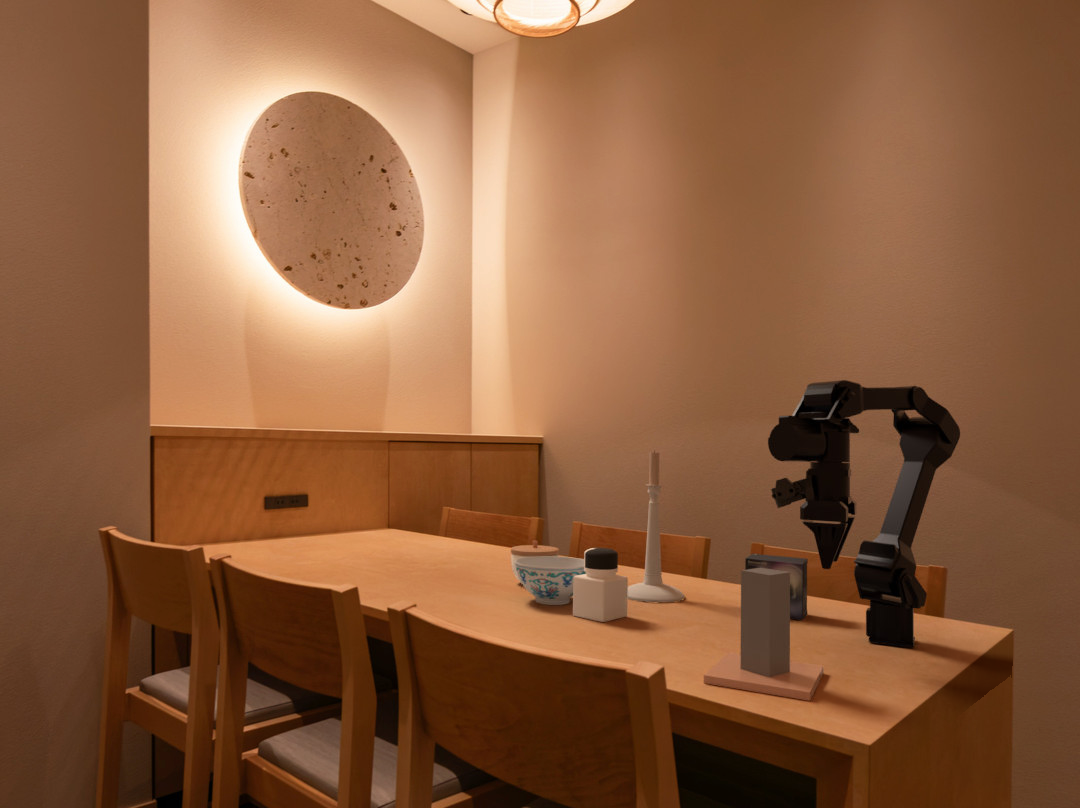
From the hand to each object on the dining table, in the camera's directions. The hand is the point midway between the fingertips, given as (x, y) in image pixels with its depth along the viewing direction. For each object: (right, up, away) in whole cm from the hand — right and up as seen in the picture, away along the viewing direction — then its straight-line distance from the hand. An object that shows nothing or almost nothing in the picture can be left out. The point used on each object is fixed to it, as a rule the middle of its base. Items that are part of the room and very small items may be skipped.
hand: (829, 564), depth 114 cm
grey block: (-14, -11, -15) cm, 23 cm away
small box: (0, -15, +25) cm, 29 cm away
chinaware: (-42, -14, +32) cm, 55 cm away
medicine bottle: (-33, -14, +20) cm, 41 cm away
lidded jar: (-45, -15, +51) cm, 70 cm away
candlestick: (-21, -15, +39) cm, 47 cm away
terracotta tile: (-14, -12, -15) cm, 24 cm away
